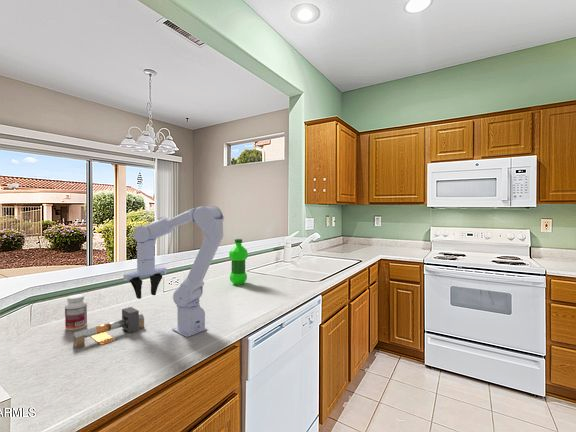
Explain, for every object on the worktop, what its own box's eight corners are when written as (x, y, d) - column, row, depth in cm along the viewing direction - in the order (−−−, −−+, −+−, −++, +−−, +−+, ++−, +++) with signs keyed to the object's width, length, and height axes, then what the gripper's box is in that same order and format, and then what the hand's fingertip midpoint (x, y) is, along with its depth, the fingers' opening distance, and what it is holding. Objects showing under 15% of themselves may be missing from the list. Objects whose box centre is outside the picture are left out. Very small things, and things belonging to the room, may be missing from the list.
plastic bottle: (232, 281, 167) (232, 238, 166) (249, 281, 165) (250, 238, 165) (226, 285, 157) (226, 240, 156) (244, 286, 155) (245, 240, 155)
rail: (136, 323, 106) (136, 311, 105) (148, 329, 100) (148, 316, 100) (70, 342, 90) (70, 328, 90) (80, 351, 84) (79, 337, 84)
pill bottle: (72, 323, 104) (72, 293, 104) (90, 323, 105) (90, 293, 105) (60, 331, 98) (60, 299, 98) (80, 330, 99) (79, 298, 98)
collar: (131, 325, 103) (130, 306, 102) (138, 329, 99) (138, 310, 99) (122, 327, 100) (121, 309, 100) (129, 332, 97) (129, 313, 96)
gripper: (159, 255, 111) (160, 289, 112) (119, 260, 100) (119, 299, 100) (169, 257, 107) (169, 293, 107) (128, 262, 96) (128, 303, 96)
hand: (146, 296), depth 104 cm, fingers open, 5 cm apart
